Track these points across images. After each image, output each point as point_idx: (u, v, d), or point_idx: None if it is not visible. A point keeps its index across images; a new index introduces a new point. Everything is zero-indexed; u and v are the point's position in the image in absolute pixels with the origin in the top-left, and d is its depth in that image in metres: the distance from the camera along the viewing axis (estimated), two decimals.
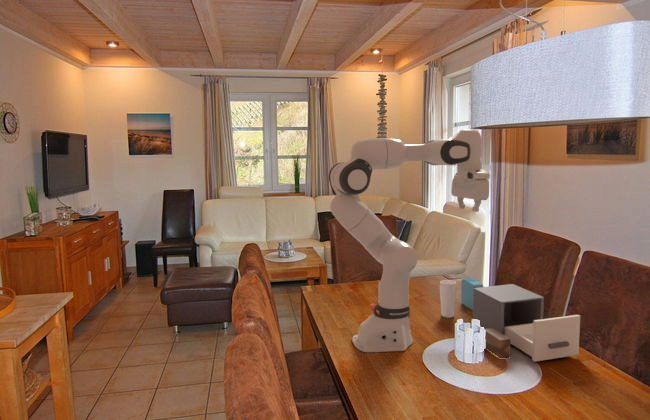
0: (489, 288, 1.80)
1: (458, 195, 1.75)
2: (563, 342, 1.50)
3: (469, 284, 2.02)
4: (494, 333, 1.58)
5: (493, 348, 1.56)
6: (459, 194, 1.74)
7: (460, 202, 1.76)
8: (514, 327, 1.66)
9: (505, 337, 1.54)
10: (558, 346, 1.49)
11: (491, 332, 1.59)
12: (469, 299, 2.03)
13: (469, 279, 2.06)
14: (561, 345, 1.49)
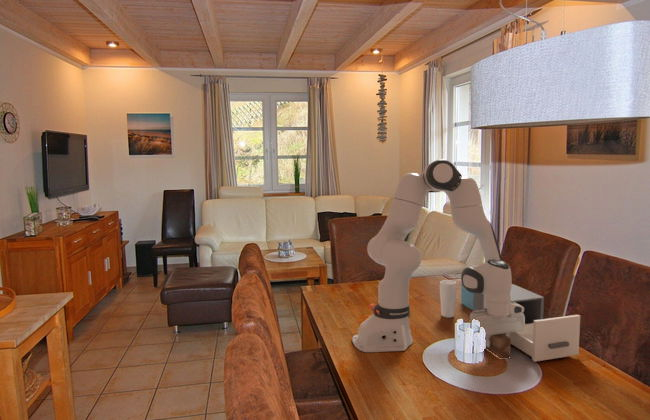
0: None
1: (488, 334, 1.55)
2: (563, 342, 1.50)
3: None
4: None
5: (493, 348, 1.56)
6: (490, 333, 1.55)
7: None
8: None
9: (505, 337, 1.54)
10: (558, 346, 1.49)
11: None
12: (469, 299, 2.03)
13: None
14: (561, 345, 1.49)
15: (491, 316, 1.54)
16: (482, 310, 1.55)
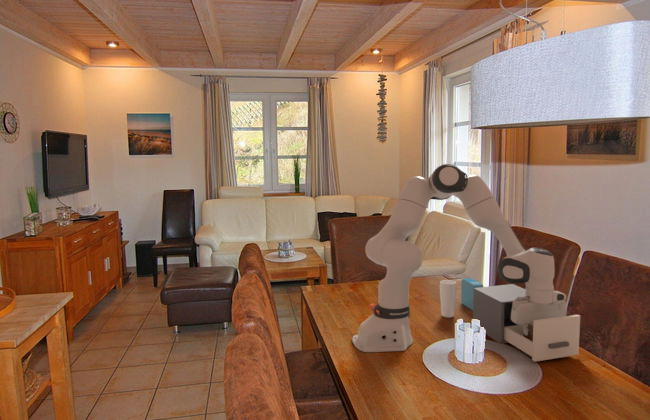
0: (489, 288, 1.80)
1: (531, 321, 1.56)
2: (563, 342, 1.50)
3: (469, 284, 2.02)
4: None
5: None
6: (533, 320, 1.56)
7: None
8: (514, 327, 1.66)
9: None
10: (558, 346, 1.49)
11: (532, 323, 1.60)
12: (469, 299, 2.03)
13: (469, 279, 2.06)
14: (561, 345, 1.49)
15: (534, 303, 1.55)
16: (525, 297, 1.56)
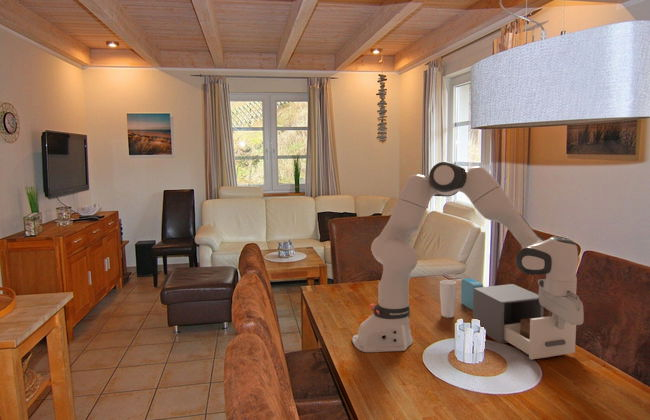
0: (489, 288, 1.80)
1: None
2: (559, 340, 1.52)
3: (469, 284, 2.02)
4: None
5: None
6: None
7: None
8: (511, 325, 1.68)
9: None
10: (555, 344, 1.50)
11: (529, 322, 1.62)
12: (469, 299, 2.03)
13: (469, 279, 2.06)
14: (557, 343, 1.51)
15: None
16: None
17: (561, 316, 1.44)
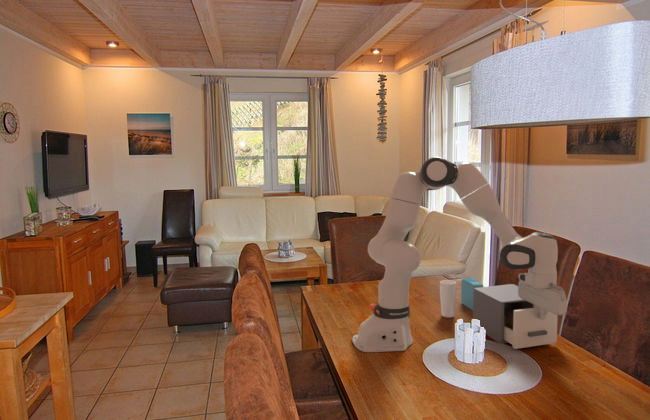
0: (489, 288, 1.80)
1: None
2: (542, 331, 1.60)
3: (469, 284, 2.02)
4: None
5: None
6: None
7: None
8: None
9: None
10: (537, 334, 1.59)
11: None
12: (469, 299, 2.03)
13: (469, 279, 2.06)
14: (540, 333, 1.59)
15: None
16: None
17: (545, 307, 1.52)
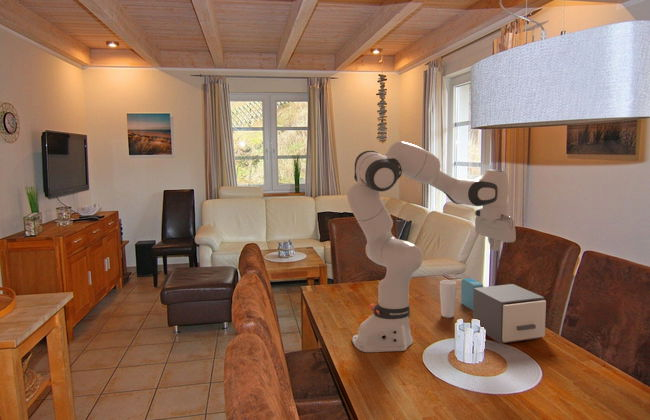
0: (489, 288, 1.80)
1: None
2: (530, 325, 1.65)
3: (469, 284, 2.02)
4: None
5: None
6: None
7: None
8: None
9: None
10: (526, 328, 1.64)
11: None
12: (469, 299, 2.03)
13: (469, 279, 2.06)
14: (528, 327, 1.65)
15: None
16: None
17: (496, 237, 1.65)
